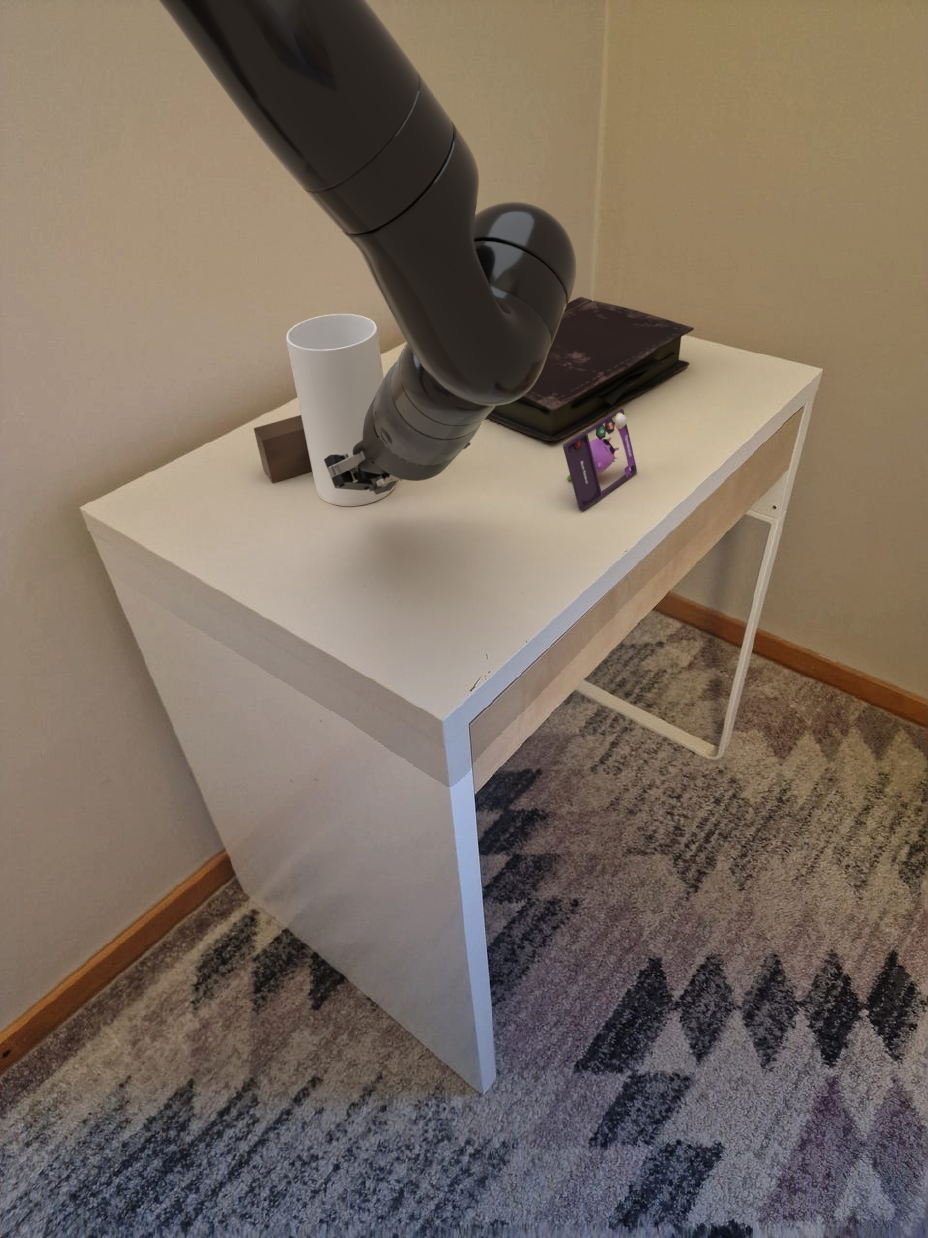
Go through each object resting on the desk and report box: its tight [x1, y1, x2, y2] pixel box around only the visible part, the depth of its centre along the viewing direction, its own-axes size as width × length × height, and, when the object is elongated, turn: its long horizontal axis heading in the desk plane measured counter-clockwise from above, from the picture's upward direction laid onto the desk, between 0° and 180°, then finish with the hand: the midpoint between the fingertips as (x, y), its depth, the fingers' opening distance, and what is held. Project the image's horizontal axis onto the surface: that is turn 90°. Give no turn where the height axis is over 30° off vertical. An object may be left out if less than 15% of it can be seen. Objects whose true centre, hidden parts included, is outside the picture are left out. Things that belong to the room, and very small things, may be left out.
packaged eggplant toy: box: [562, 408, 638, 512], centre depth 83 cm, size 7×5×9 cm
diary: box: [486, 296, 695, 442], centre depth 100 cm, size 19×25×5 cm
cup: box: [285, 313, 397, 507], centre depth 82 cm, size 8×8×16 cm
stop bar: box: [253, 414, 312, 484], centre depth 90 cm, size 14×3×5 cm, turn 118°
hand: (378, 482), depth 79 cm, fingers closed
